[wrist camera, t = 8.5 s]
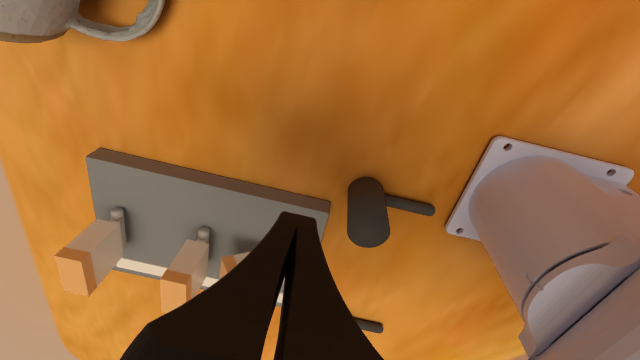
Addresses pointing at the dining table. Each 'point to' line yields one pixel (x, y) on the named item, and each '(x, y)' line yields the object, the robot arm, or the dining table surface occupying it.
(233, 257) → the tan rectangular block
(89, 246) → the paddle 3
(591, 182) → the robot arm
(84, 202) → the dining table surface
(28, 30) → the ceramic mug
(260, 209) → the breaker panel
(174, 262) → the orange and brown block
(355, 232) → the dark cylinders with handles
